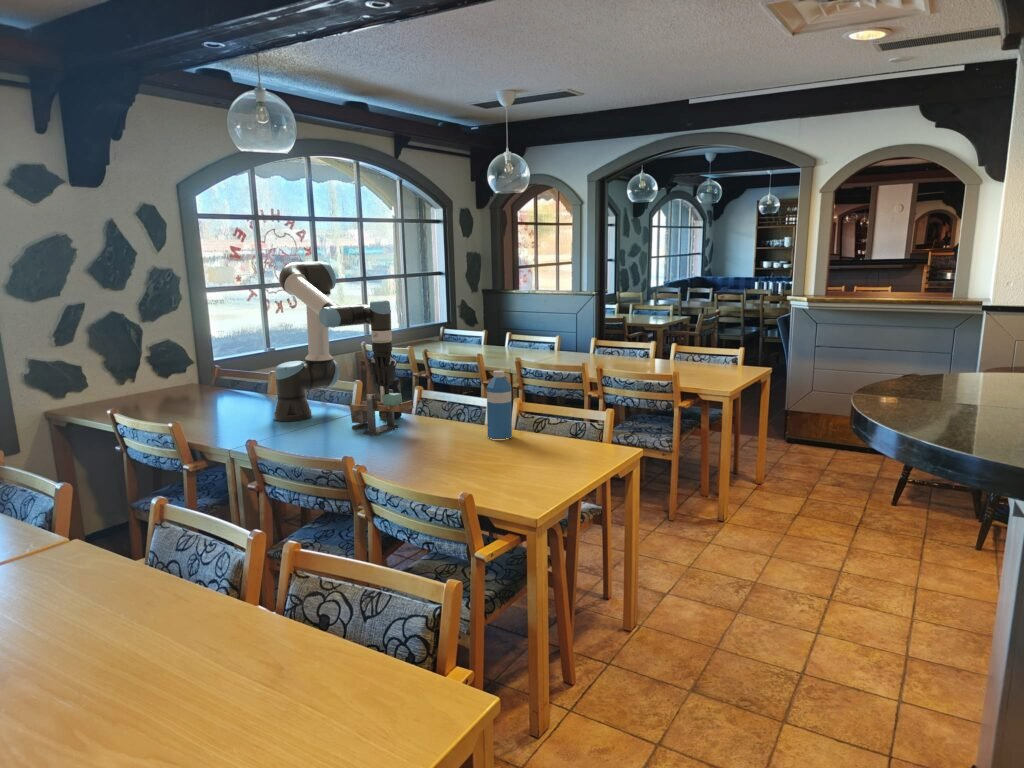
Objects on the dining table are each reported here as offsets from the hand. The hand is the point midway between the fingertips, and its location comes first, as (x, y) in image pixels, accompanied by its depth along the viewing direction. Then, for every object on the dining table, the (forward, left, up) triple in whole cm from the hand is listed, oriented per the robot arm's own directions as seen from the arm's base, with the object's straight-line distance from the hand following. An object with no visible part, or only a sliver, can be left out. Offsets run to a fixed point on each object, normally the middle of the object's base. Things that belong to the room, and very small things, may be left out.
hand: (384, 402), depth 261 cm
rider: (+4, 0, -2) cm, 4 cm away
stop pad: (-13, 0, -12) cm, 17 cm away
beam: (-1, 0, -8) cm, 8 cm away
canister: (-12, +17, -12) cm, 24 cm away
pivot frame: (-2, 0, -12) cm, 12 cm away
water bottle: (+44, +13, -12) cm, 47 cm away
